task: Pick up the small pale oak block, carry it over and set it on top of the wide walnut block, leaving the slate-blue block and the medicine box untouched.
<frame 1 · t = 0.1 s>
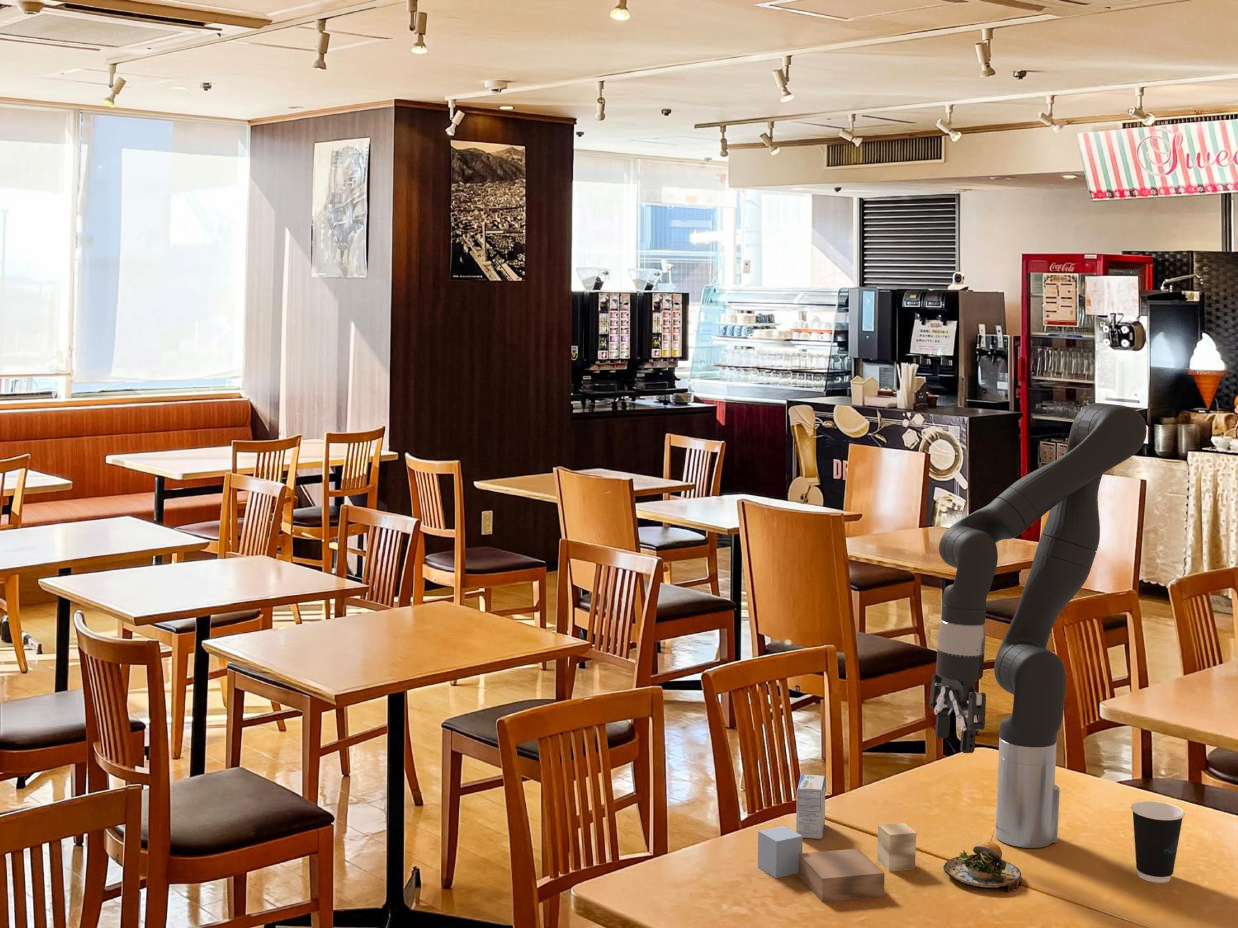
hand: (954, 744, 231), 17 cm above the table, tool pointing down, fingers open, 8 cm apart
dixie cup: (1154, 877, 221), on the table
slate block: (779, 869, 222), on the table
walnut block: (840, 887, 216), on the table
oak block: (896, 864, 224), on the table
burger: (982, 881, 219), on the table
medicine box: (810, 831, 239), on the table
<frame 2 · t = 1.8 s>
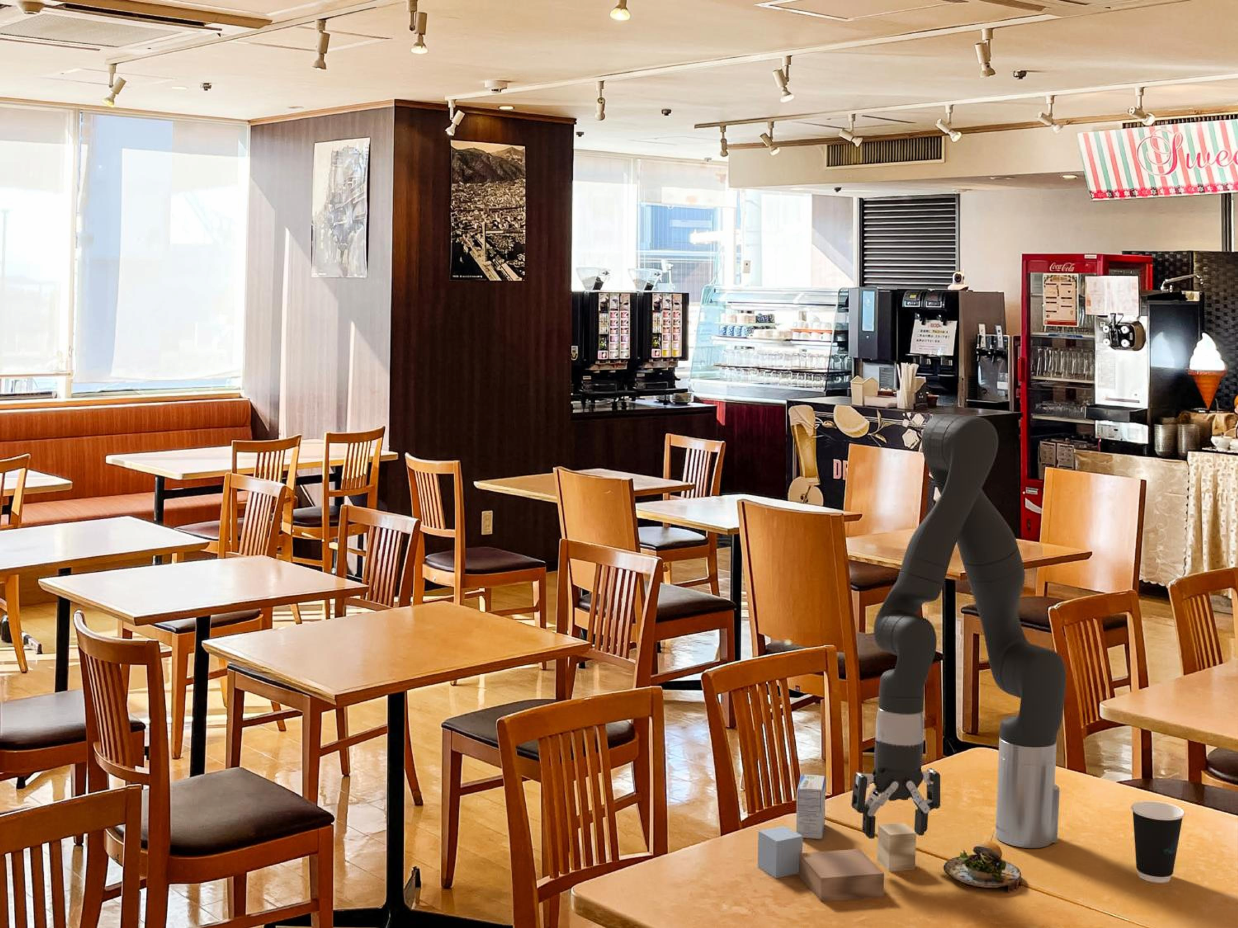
hand: (894, 835, 224), 5 cm above the table, tool pointing down, fingers open, 8 cm apart
nothing on the table moved.
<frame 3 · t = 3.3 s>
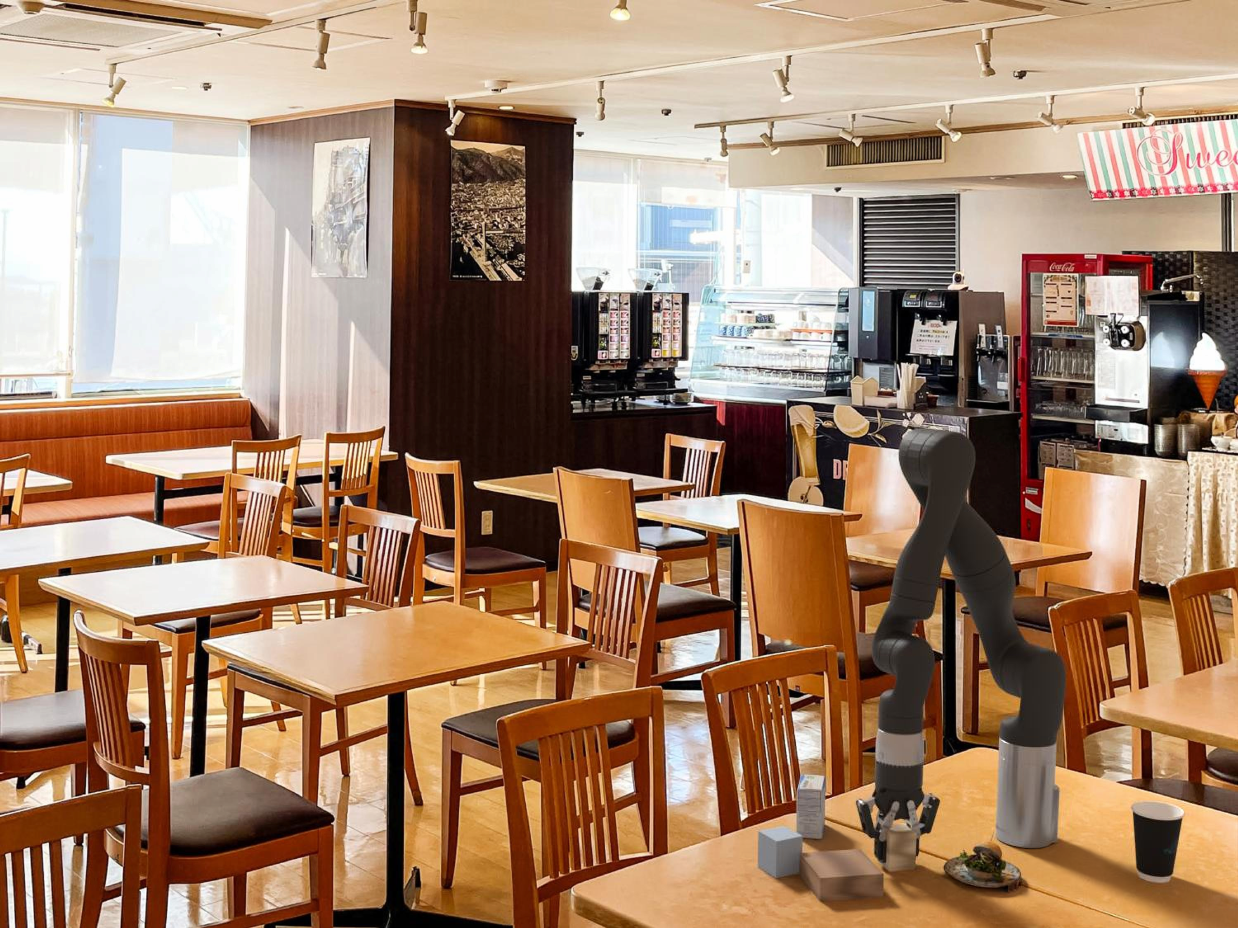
hand: (896, 859, 224), 1 cm above the table, tool pointing down, fingers closed on oak block, 4 cm apart
oak block: (896, 864, 224), on the table, touching gripper
everything else where it was.
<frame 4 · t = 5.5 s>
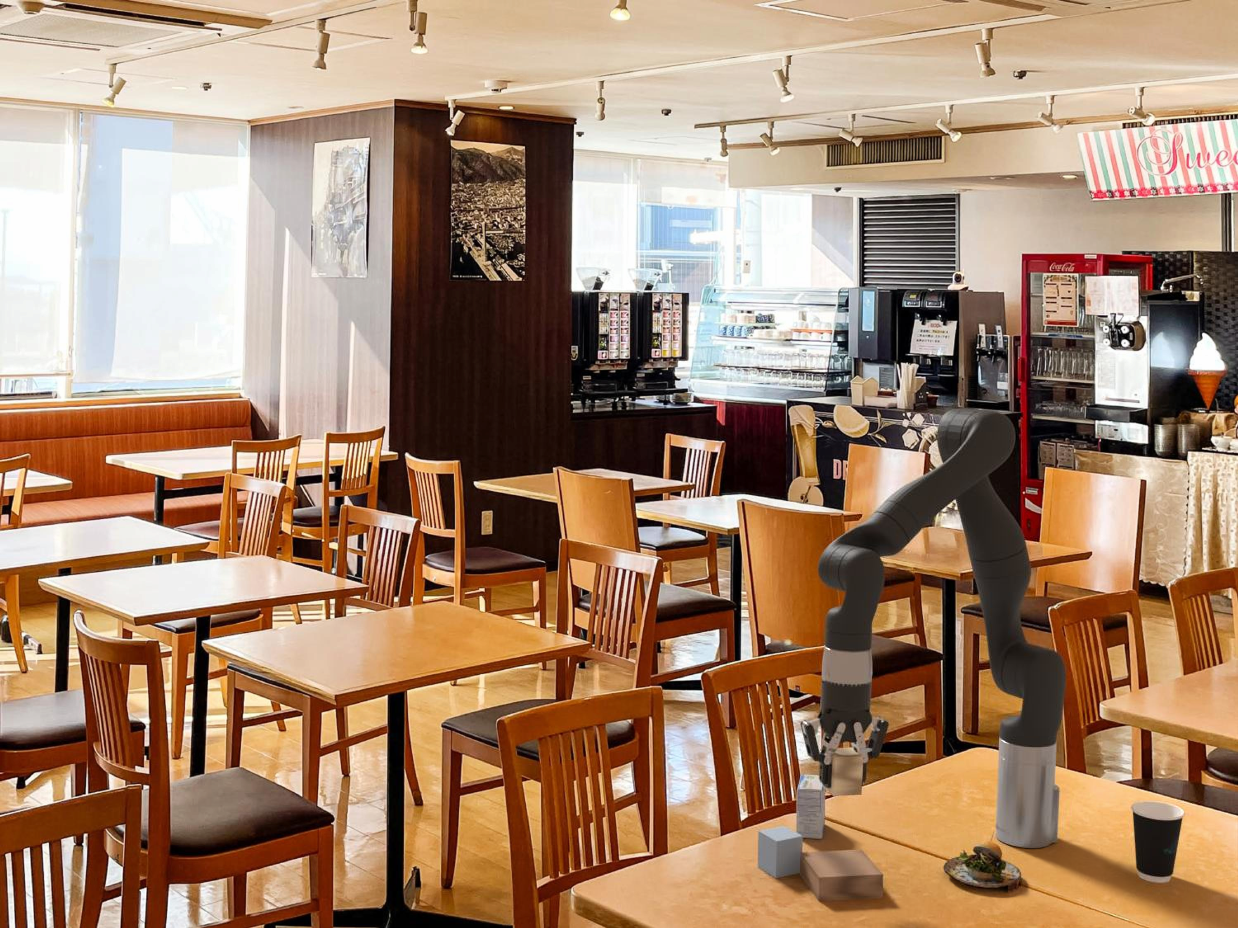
hand: (842, 784, 214), 16 cm above the table, tool pointing down, fingers closed on oak block, 4 cm apart
oak block: (842, 790, 214), point 15 cm above the table, touching gripper
everything else where it was.
when the fingers open (6 cm above the table, at t = 8.1 s): oak block drops 1 cm, point 4 cm above the table.
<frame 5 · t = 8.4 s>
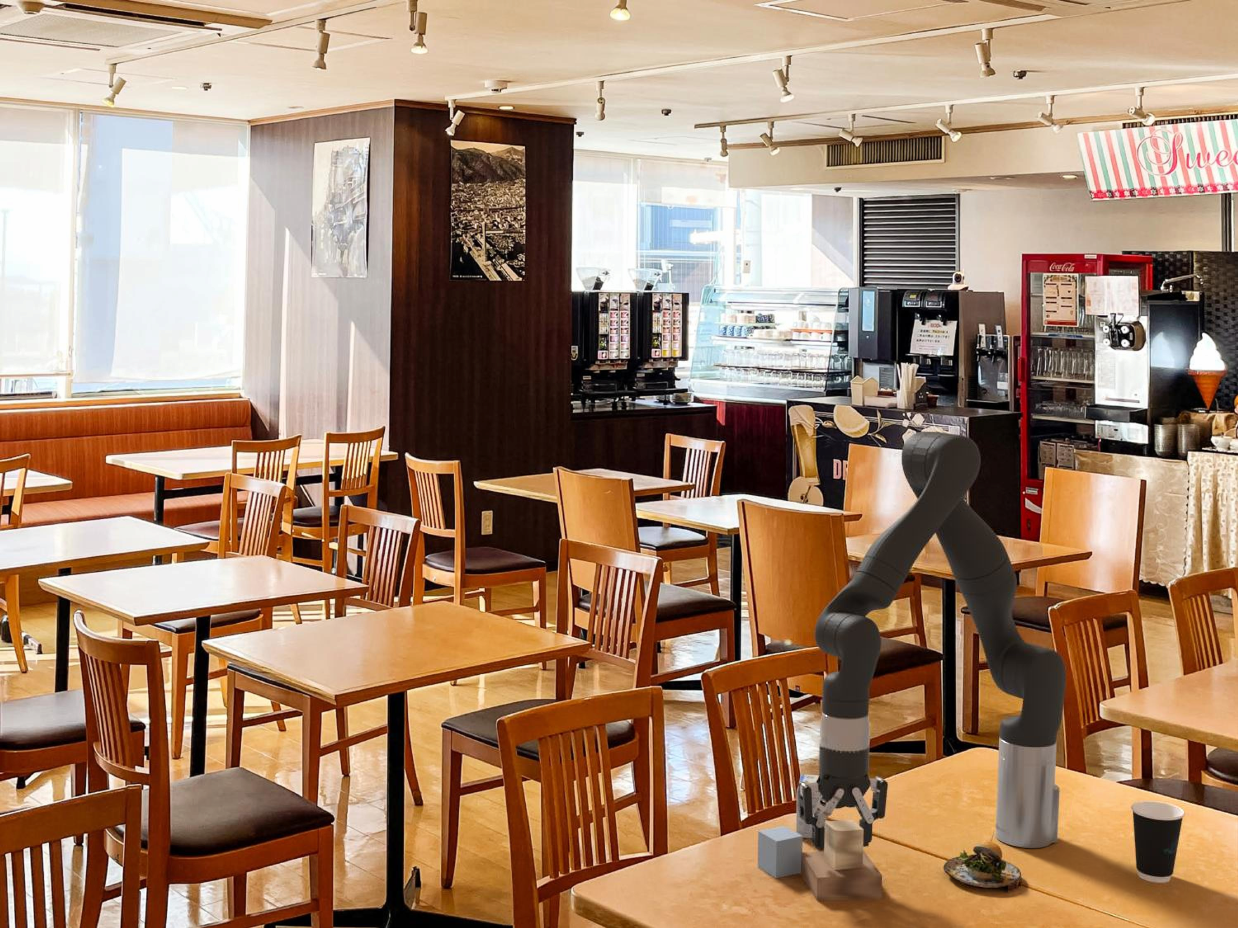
hand: (841, 846, 215), 6 cm above the table, tool pointing down, fingers open, 6 cm apart
oak block: (843, 863, 215), point 4 cm above the table
everything else where it was.
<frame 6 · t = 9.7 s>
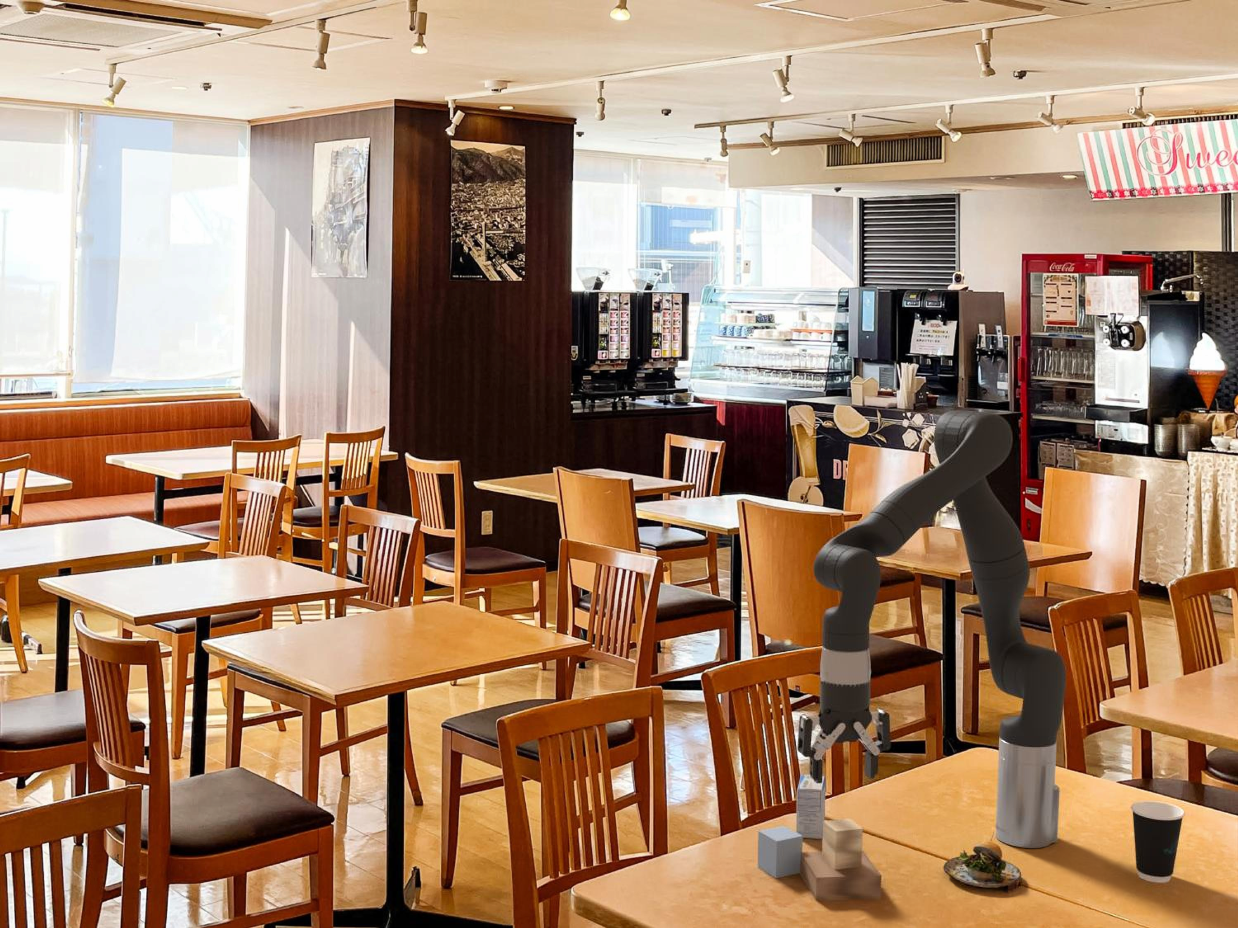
hand: (843, 779, 214), 17 cm above the table, tool pointing down, fingers open, 8 cm apart
nothing on the table moved.
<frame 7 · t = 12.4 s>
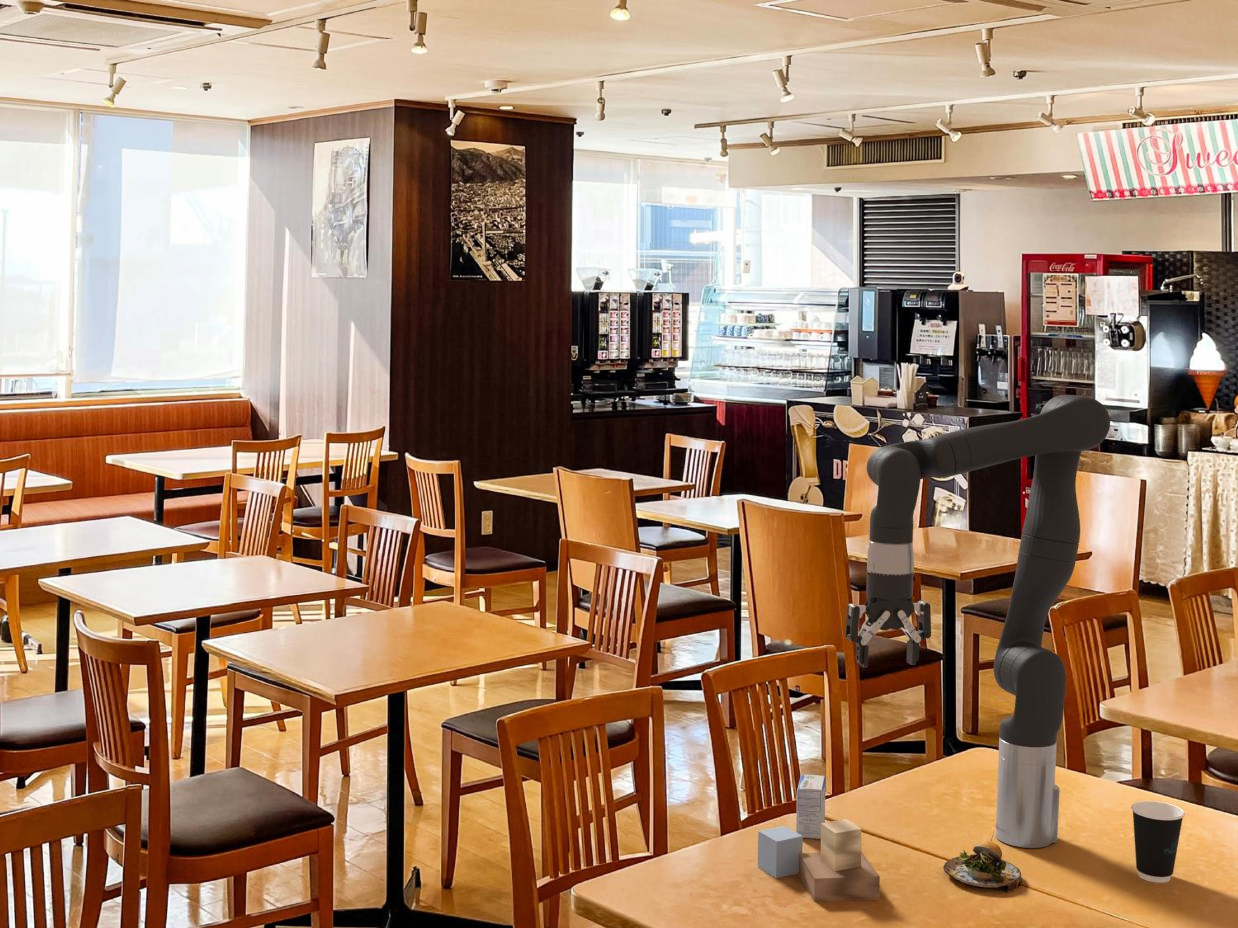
hand: (887, 664, 231), 30 cm above the table, tool pointing down, fingers open, 8 cm apart
nothing on the table moved.
at the end: oak block inside the target area on the walnut block (0.5 cm from its centre), point 4.0 cm above the walnut block's base; oak block tilted 1°; the gripper is holding nothing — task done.
